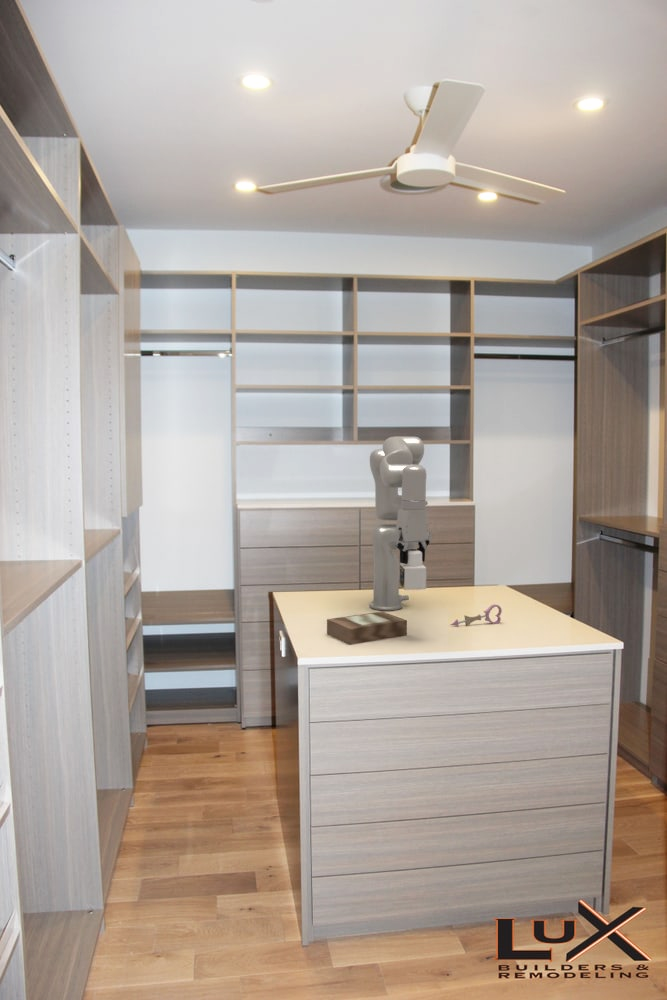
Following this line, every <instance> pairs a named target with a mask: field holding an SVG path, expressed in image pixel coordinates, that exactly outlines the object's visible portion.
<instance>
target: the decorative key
mask: <svg viewBox="0 0 667 1000" xmlns="http://www.w3.org/2000/svg"><path fill="white" fill-rule="evenodd" d="M496 607H497V609H498V612H497V614H496V615H495V617H497V620H496V621H492V620H491V617H490V613H491V611H492V610H493V609H494V608H496ZM502 610H503V609H502V607H501V606H500V605H498V604H495V603H494V604H492V605H490V606H489V607H487V609H486V610H483V613H485V614H482V615H481V614H477V615H475V616H468V615H463V616H464V620H460V621H459V620H458V619H455V621H454V622H452V623H451V624H450V626H453V627H454V626H455V627H459V625H460V624H463V623H465V626H466V627H469V626H470V625H471V624H472V623H474V622H476V621H482V619H483V618H484V621H486V622H489V623H490V624H493V625H498V624H500V622H501V620H502V619H501V615H502Z"/></svg>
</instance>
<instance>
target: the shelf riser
mask: <svg viewBox="0 0 667 1000" xmlns="http://www.w3.org/2000/svg"><path fill="white" fill-rule="evenodd" d="M326 635H327V636H330V637H332V638H335V639H336V640H339V641H341V642H343V643H346V644H348V645H356V644H362V643H368V642H375V641H380V640H388V639H393V638H398V637H399V638H400V637H404V636H407V635H408V620H407V619H404V618H402V617H399V616H396V615H394V614H390V613H387V612H386V611H384V610H381V611H377V612H376V611H375V612H369V613H361V614H354V615H348V616H339V617H334V618H333V617H332V618H327V619H326Z"/></svg>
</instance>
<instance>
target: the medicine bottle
mask: <svg viewBox="0 0 667 1000" xmlns="http://www.w3.org/2000/svg"><path fill="white" fill-rule="evenodd" d="M406 551H408V563H407V564H404V563H399V586H400V587H401V588H402V589H403V590H405V591H407V590H408V591H410V590H413V591H414V590H416V591H417V590H426V589H427V566H425V565H424V564H423V563H424V562H423V552H422V551H420V550H417V548H416V549H415V548H414V549H407V550H406Z"/></svg>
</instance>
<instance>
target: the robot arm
mask: <svg viewBox="0 0 667 1000" xmlns="http://www.w3.org/2000/svg"><path fill="white" fill-rule="evenodd" d="M424 455H425V444H424V442H423V440H422V439H421V438H420V437H418V436H406V435H405V436H402V435H401V436H390V437H388V438H386V439H385V441H383V444H382V448H378V449H375V450H373V451H371V453H370V455H369V466H370V472H371V474H372V477H373V479H374V487H375V488H374V489H375V490H374V491H375V505H374V506H375V515H376V517H377V519H379V520H380V521H396V523H381V524H378V525H376V526H374V528H372V531H371V541H372V548H373V601H371V602H369V604H368V607H369V608H370V609H372V610H376V611H384V612H386V611H389V612H390V611H397V610H401V609H403V607H404V606H403V601H409V599H410V597H409V595H408V594H407V595H402V594H399V593H400V592H399V590H400V589H399V588H400V564H401V563H404V564H407V563H408V551H406V550H408V549H415V548H416V549H417V550H420V551H422V552H423V563H424V562H425V560H426V550H427V548H428V546H429V545H430V542H431V541H432V540H433V538H434V536H433V535H432V533H431V532H430V531H429V530H430V529H429V517H428V510H427V509H426V506H428V501H426V496H427V495H426V494H427V488H426V487H427V470H426V468H425V467H424V466H422V464H420V463H421V461H422V460H423V458H424ZM399 488H401V494H399ZM417 546H418V548H417ZM394 550H398V551H399V558H398V557H397V555H396V554H395V553H394V552H393V551H394Z"/></svg>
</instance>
